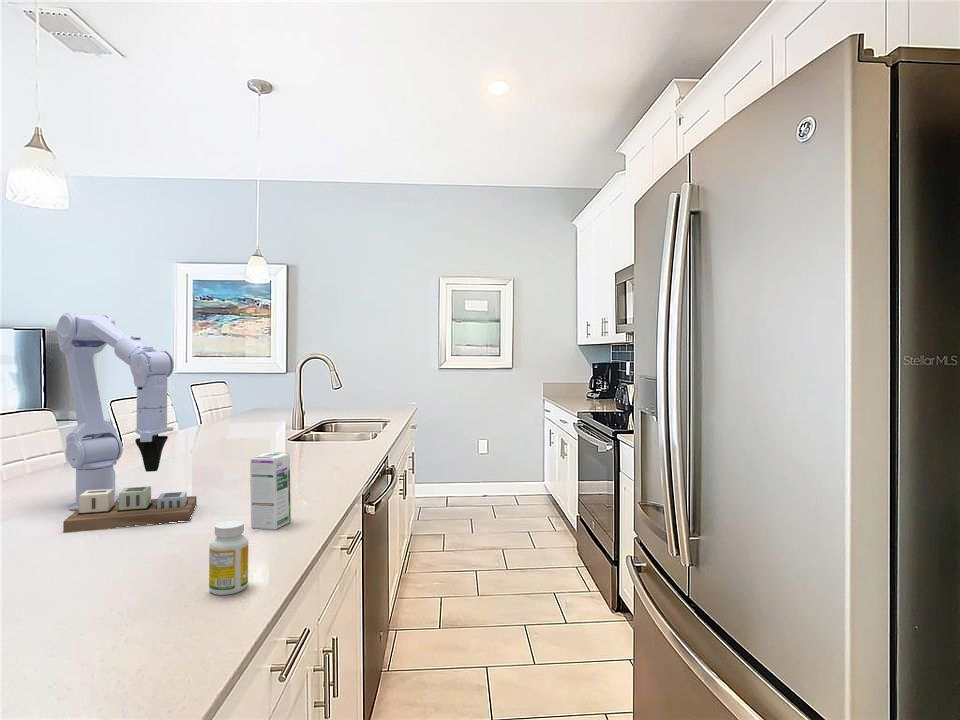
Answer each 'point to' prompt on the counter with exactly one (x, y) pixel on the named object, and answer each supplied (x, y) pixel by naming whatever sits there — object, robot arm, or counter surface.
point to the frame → (128, 516)
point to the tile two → (134, 498)
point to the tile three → (172, 500)
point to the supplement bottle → (228, 559)
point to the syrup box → (270, 490)
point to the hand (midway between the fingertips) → (151, 470)
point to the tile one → (96, 500)
